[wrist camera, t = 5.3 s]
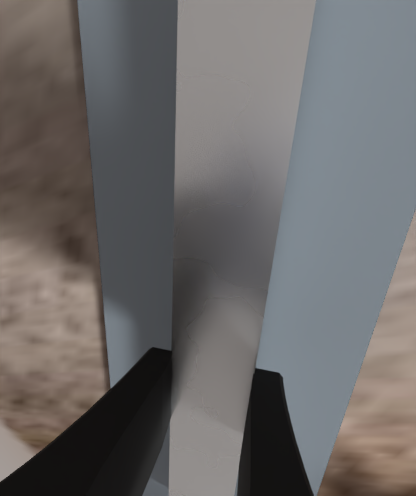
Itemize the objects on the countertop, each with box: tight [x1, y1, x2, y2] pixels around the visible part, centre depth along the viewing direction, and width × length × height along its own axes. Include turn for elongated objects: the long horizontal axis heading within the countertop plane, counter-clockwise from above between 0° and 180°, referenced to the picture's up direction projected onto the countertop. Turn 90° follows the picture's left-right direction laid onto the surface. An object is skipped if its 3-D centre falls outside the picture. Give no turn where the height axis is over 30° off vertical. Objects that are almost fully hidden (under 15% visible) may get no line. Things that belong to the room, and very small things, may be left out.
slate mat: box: [77, 0, 416, 496], centre depth 11 cm, size 20×8×1 cm, turn 176°
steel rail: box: [169, 0, 316, 496], centre depth 10 cm, size 18×2×2 cm, turn 176°
